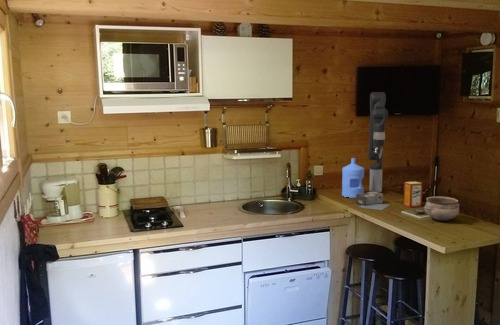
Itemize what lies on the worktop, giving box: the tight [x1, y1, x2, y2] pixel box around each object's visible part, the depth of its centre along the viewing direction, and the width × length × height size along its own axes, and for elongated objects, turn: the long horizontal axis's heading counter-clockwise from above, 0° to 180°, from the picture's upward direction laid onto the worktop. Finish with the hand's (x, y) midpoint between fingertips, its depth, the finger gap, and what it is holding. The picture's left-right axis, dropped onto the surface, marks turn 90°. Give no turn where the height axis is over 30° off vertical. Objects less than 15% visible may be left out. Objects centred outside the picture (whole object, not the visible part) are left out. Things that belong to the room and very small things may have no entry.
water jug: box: [341, 157, 365, 199], centre depth 340 cm, size 16×16×28 cm
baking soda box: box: [403, 181, 424, 209], centre depth 310 cm, size 10×6×16 cm
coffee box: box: [355, 191, 384, 206], centre depth 319 cm, size 9×6×16 cm
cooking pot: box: [423, 196, 460, 222], centre depth 276 cm, size 25×19×12 cm
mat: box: [358, 203, 391, 211], centre depth 311 cm, size 16×16×1 cm
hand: (378, 163), depth 321 cm, fingers closed
